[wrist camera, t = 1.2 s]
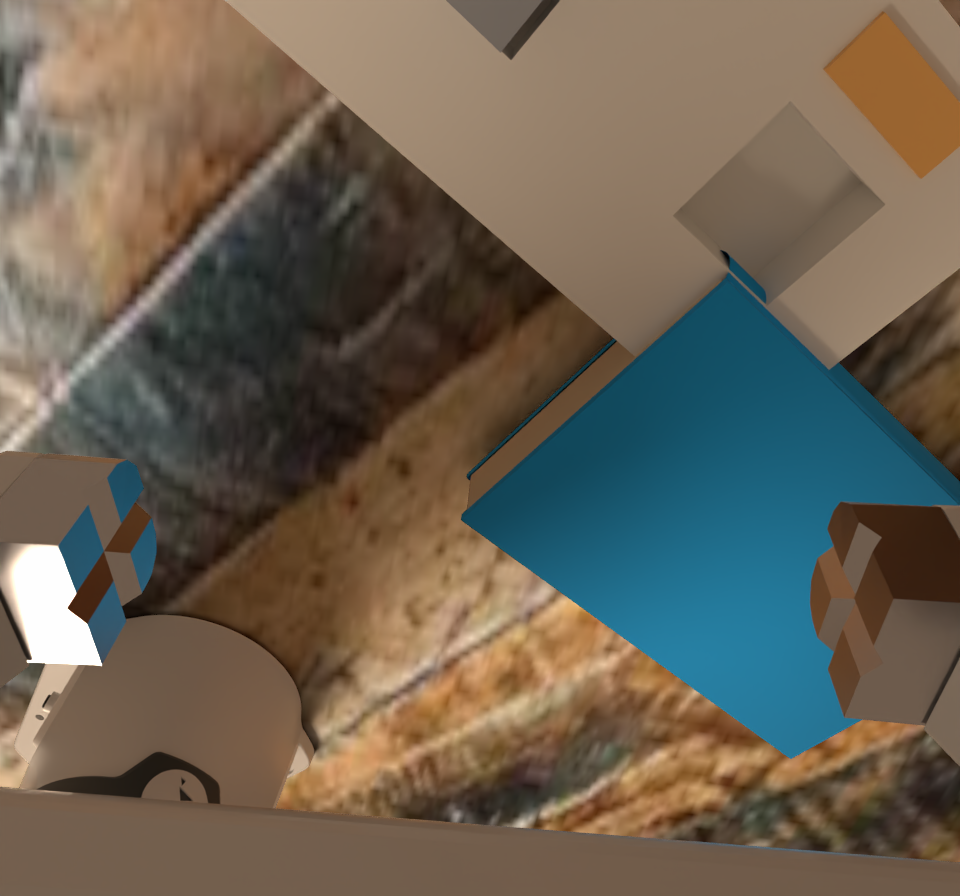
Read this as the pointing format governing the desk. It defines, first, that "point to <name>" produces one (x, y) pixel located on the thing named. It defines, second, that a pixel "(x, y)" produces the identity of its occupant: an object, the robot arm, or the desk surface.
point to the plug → (496, 17)
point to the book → (705, 502)
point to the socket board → (674, 144)
